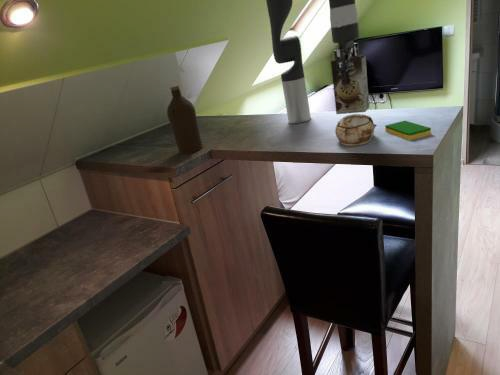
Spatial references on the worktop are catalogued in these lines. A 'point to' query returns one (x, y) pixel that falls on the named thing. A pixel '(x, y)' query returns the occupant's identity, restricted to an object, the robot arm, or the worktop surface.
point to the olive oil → (184, 123)
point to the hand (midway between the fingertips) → (350, 82)
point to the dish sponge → (408, 130)
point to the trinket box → (355, 129)
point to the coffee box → (351, 87)
